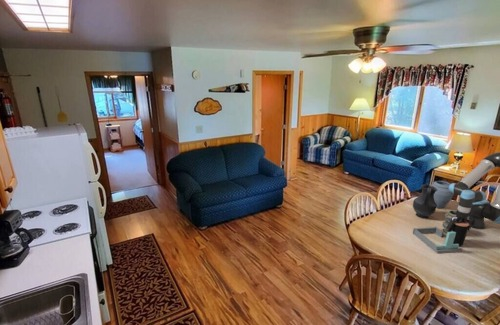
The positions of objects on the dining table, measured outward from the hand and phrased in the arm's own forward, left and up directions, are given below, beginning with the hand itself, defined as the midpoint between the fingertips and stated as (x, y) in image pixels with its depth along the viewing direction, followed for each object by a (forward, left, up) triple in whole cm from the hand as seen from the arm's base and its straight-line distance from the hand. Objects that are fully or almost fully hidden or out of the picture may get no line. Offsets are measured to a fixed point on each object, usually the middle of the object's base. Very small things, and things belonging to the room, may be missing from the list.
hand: (455, 237), depth 201 cm
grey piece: (+13, -3, -5) cm, 14 cm away
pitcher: (-3, -38, -5) cm, 39 cm away
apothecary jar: (-8, -13, -5) cm, 16 cm away
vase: (-32, -55, -5) cm, 64 cm away
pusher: (+13, +8, -5) cm, 16 cm away
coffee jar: (0, 0, -5) cm, 5 cm away
